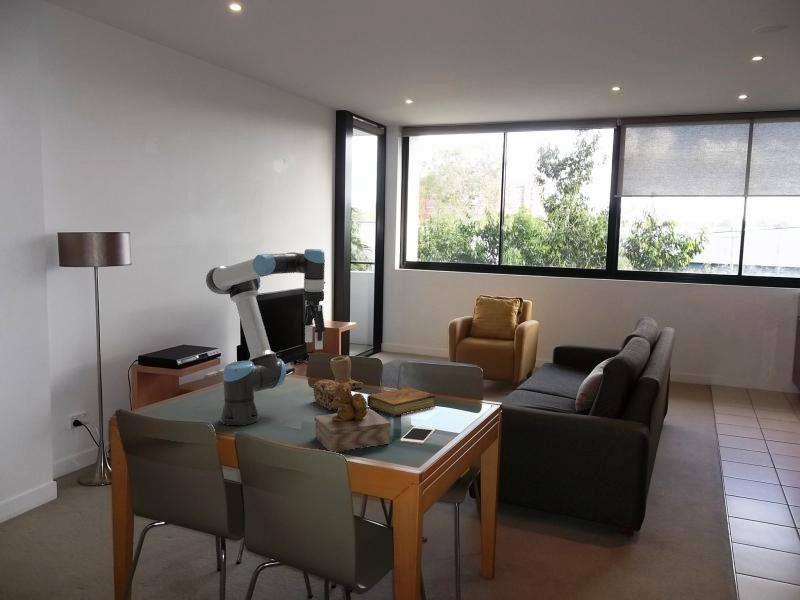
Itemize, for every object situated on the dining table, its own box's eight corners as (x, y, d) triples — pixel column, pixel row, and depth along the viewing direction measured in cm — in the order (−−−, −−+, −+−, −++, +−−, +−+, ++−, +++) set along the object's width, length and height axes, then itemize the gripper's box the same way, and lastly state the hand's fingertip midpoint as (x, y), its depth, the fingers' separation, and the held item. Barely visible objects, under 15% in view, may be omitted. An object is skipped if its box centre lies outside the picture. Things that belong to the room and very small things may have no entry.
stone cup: (325, 386, 313) (325, 356, 311) (344, 382, 321) (344, 353, 319) (344, 392, 302) (344, 361, 300) (363, 388, 309) (363, 357, 308)
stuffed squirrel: (337, 413, 239) (337, 378, 238) (373, 416, 235) (373, 381, 234) (327, 420, 230) (326, 385, 228) (363, 424, 226) (363, 388, 224)
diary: (407, 399, 292) (408, 386, 291) (435, 408, 278) (435, 395, 277) (367, 407, 278) (367, 394, 277) (393, 417, 263) (394, 403, 263)
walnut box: (330, 453, 220) (329, 430, 219) (314, 437, 236) (314, 416, 235) (390, 444, 229) (390, 422, 228) (371, 429, 246) (371, 409, 245)
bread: (313, 401, 286) (312, 379, 285) (334, 398, 291) (334, 376, 290) (329, 411, 270) (328, 388, 269) (352, 408, 275) (352, 385, 274)
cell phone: (436, 430, 246) (436, 427, 246) (422, 445, 229) (422, 442, 229) (414, 428, 249) (414, 425, 249) (399, 442, 232) (399, 439, 232)
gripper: (334, 294, 231) (333, 351, 233) (314, 286, 253) (313, 338, 256) (313, 294, 228) (313, 352, 230) (295, 286, 250) (295, 339, 253)
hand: (313, 345), depth 243 cm, fingers open, 13 cm apart
